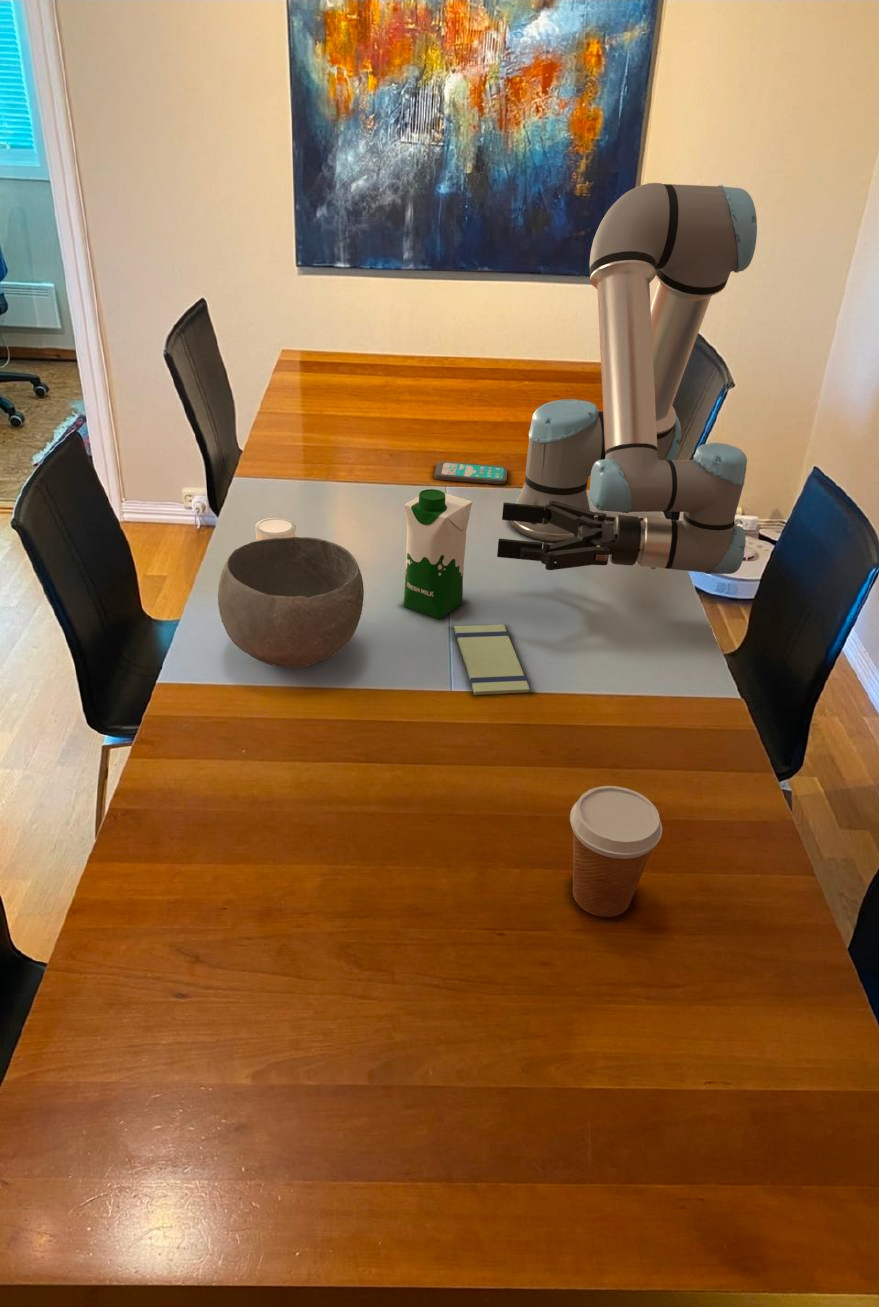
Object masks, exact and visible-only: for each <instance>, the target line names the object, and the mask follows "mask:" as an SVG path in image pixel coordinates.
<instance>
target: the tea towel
mask: <svg viewBox="0 0 879 1307" xmlns="http://www.w3.org/2000/svg"><path fill="white" fill-rule="evenodd" d="M453 631H454V634H455V638H456V641H457V644H458V647H459V651H460V654H461V656H462V659H463V663H464V666H465V670H466V673H467V676H468V678H469V682H470V685H471V688H472V691H473V695H475V696H478V695H480V696H481V695H503V694H523V693H525V694H527V693H530V690H531V689H530V686H529V683H528V681H527V678H526V676H525V674H524V671H523V670H522V667H521V666H522V665H521V664H520V661H519V659H518V656H517V654H516V650H515V649H514V646H513V644H512V642H511V639H510V636H509V634H508V631H507V629H506V626H505V624H503V623H502V624H476V625H475V624H473V625H454V626H453Z"/></svg>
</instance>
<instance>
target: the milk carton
mask: <svg viewBox="0 0 879 1307" xmlns="http://www.w3.org/2000/svg"><path fill="white" fill-rule="evenodd" d="M472 505H473V501H472V500H469V499H465V498H462V497H460V496H456V495H452V494H449V493H446V492H444V491H442V490H440V489H433V488H429V489H423V490H421V491H419V494H418V496H416V497H414V498H413V499H412V500H410V501H408V502H406V503H405V504H404V511H405V519H406V549H405V550H406V551H405V552H406V553H405V573H404V574H405V576H404V592H403V607H405V608H408V609H410V610H413V611H416V612H418V613H421V614H424V615H427V616H428V617H429V616H430V617H432V618H434V619H437V620H440V619H442V618H443V617H445V616H446V615H447V614H449V613H450V612H451V611H453V610H454V609H455V608H457V607H458V606H459V605H461V604H462V603H463V602H464V600H463V599H464V598H463V597H464V595H463V593H464V592H463V591H464V590H463V589H464V587H463V586H464V569H465V555H466V545H467V544H466V542H467V529H468V525H469V520H470V515H471V510H472Z"/></svg>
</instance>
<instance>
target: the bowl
mask: <svg viewBox="0 0 879 1307" xmlns="http://www.w3.org/2000/svg"><path fill="white" fill-rule="evenodd" d="M363 580H364V579H363V576H362V573H361V570H360V567H359V564H358V562H357V560H356V558H355V557H354V556H353V554H352V553H351V552H350V551H349V550H348V549H346V548H345V547H343V546H341V545H339V544H337V543H335V542H333V541H328V540H325V539H322V538H317V537H309V536H301V537H300V536H295V537H290V538H271V539H264V540H259V541H257V540H255V541H251V542H249V543H246V544H244V545H242V546H240V547H238V548H236V549H234V551H233V552H232V553H230V555H229V556H228V557H227V559H226V561H225V563H224V565H223V567H222V570H221V574H220V576H219V581H218V586H217V587H218V588H217V605H218V610H219V611H218V612H219V615H220V619H221V623H222V625H223V627H224V630H225V633H226V634H227V636H228V637H229V639H230V640H231V642H233V644H234V645H235V646H236V647H237V648H239V650H241V651H242V652H244V653H245V654H247V655H248V656H250V657H251V658H253V659H255V660H257V661H259V662H262V663H264V664H268V665H270V666H278V667H286V668H288V667H291V668H292V667H294V668H296V667H304V666H311V665H313V664H317V663H320V662H322V661H325V660H327V659H330V658H331V657H333V656H335V655H336V654H338V653H339V652H340V651H341V650H342V649H343V648H344V647H345V646H346V645H347V644H348V643H349V642H350V641H351V640H352V638H353V636H354V634H355V632H356V631H357V628H358V626H359V623H360V620H361V616H362V612H363V606H364V595H365V588H364V581H363Z"/></svg>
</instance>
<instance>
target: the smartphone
mask: <svg viewBox="0 0 879 1307" xmlns="http://www.w3.org/2000/svg"><path fill="white" fill-rule="evenodd" d="M433 476H434V479H436V480H440V481H441V480H443V481H454V482H455V481H456V482H466V483H467V482H468V483H479V484H491V485H492V484H493V485H505V484H507V479H508V467H506V466H504V465H495V464H494V465H493V464H482V463H469V462H457V461H438V462H437V463H436V466H435V471H434V475H433Z"/></svg>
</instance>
